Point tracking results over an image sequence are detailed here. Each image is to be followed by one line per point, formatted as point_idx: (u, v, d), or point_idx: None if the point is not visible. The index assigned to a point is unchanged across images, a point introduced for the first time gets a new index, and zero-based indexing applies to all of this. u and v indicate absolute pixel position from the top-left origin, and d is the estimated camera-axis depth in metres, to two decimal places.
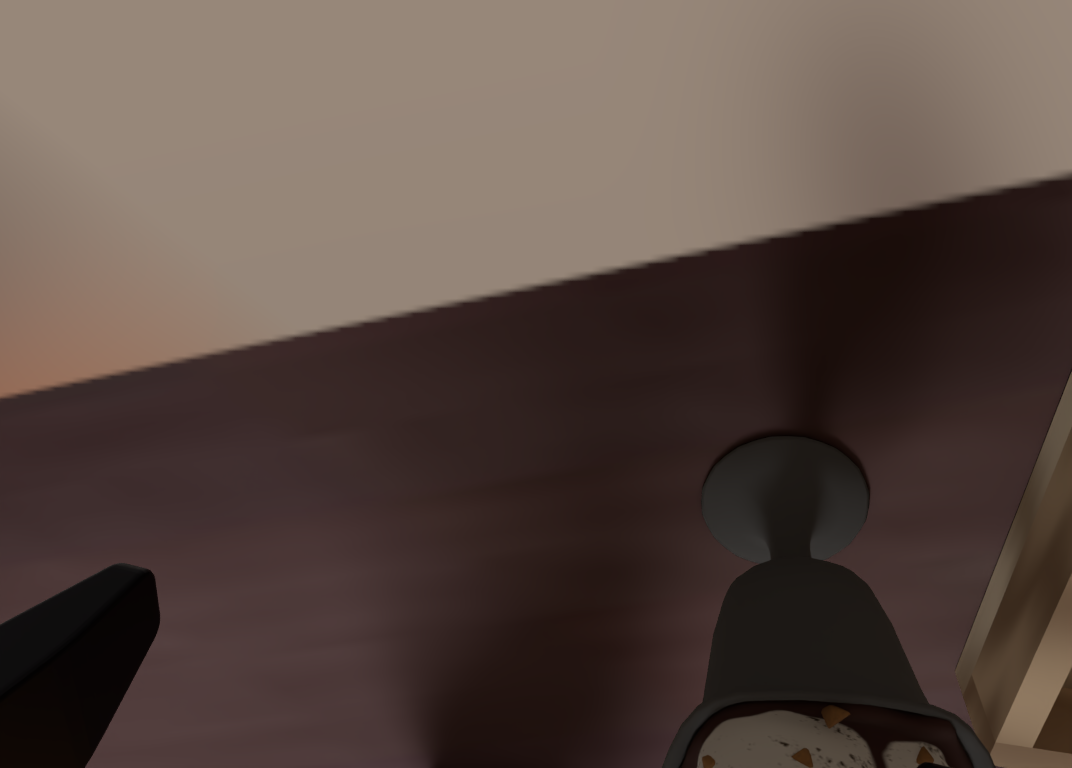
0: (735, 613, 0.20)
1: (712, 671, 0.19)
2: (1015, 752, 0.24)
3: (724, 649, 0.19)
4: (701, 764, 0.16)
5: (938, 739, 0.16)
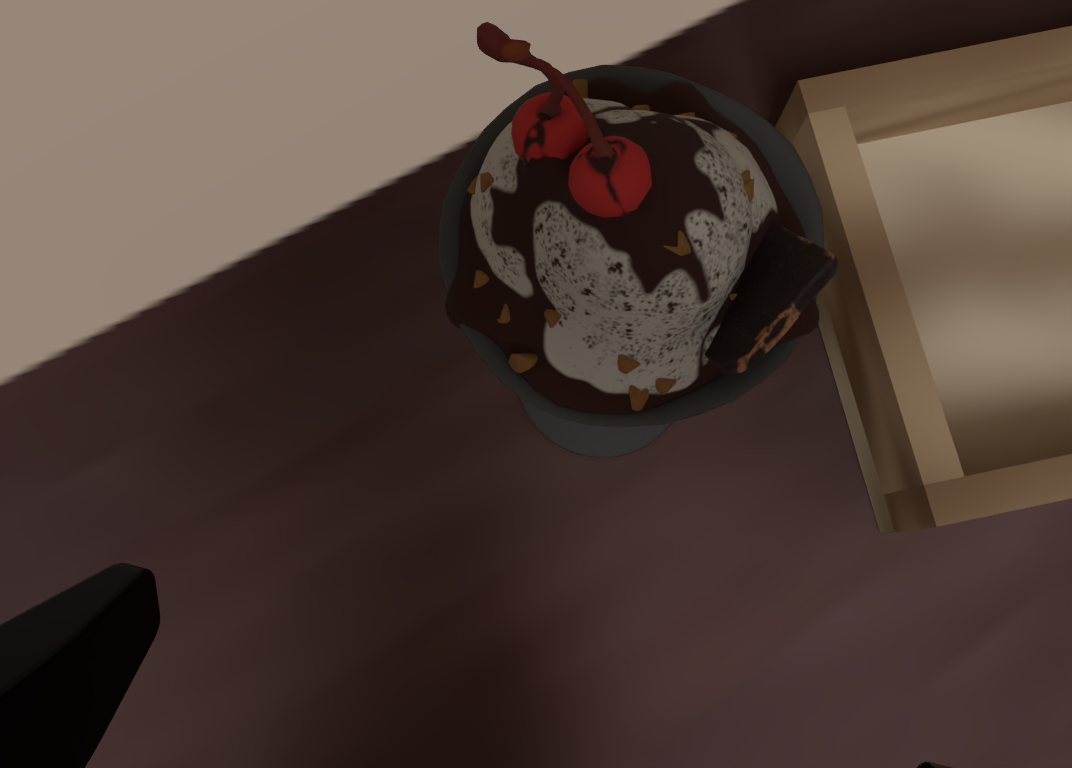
0: None
1: None
2: (953, 491, 0.20)
3: None
4: (471, 204, 0.14)
5: (690, 102, 0.15)
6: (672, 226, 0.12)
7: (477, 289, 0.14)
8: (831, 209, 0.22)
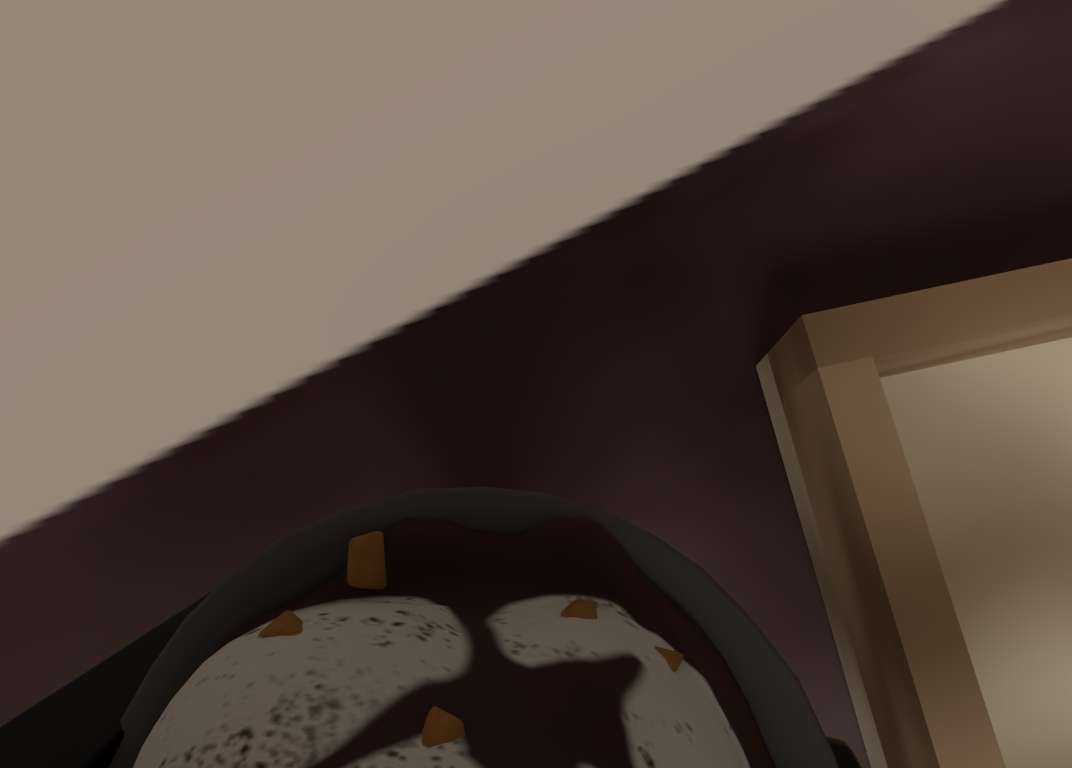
0: None
1: None
2: None
3: None
4: None
5: (591, 564, 0.08)
6: None
7: None
8: (855, 517, 0.14)
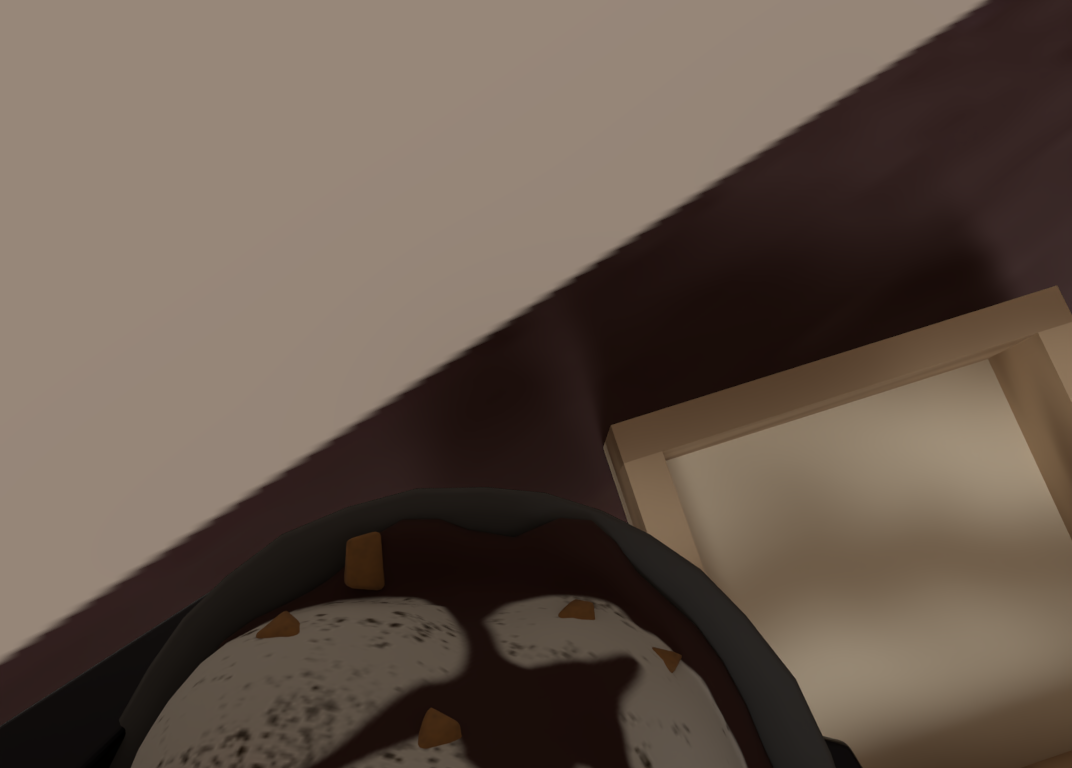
0: None
1: None
2: None
3: None
4: None
5: (588, 565, 0.08)
6: None
7: None
8: None
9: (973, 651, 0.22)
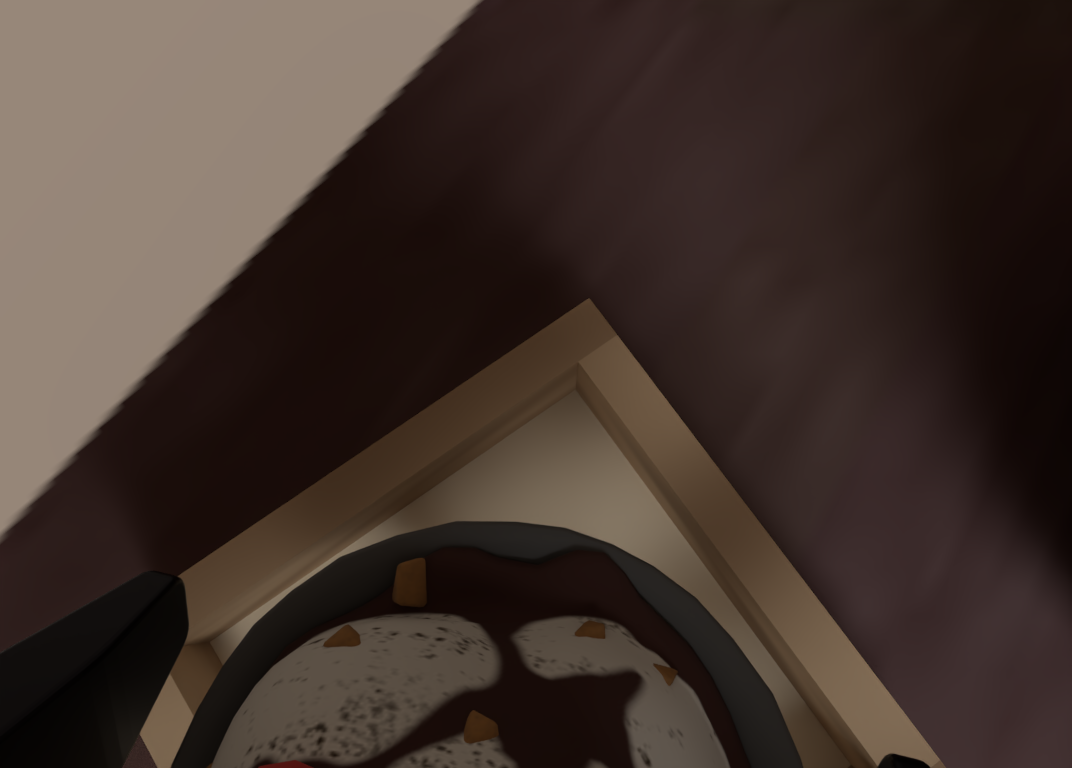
0: None
1: None
2: None
3: None
4: None
5: (601, 591, 0.09)
6: None
7: None
8: None
9: None
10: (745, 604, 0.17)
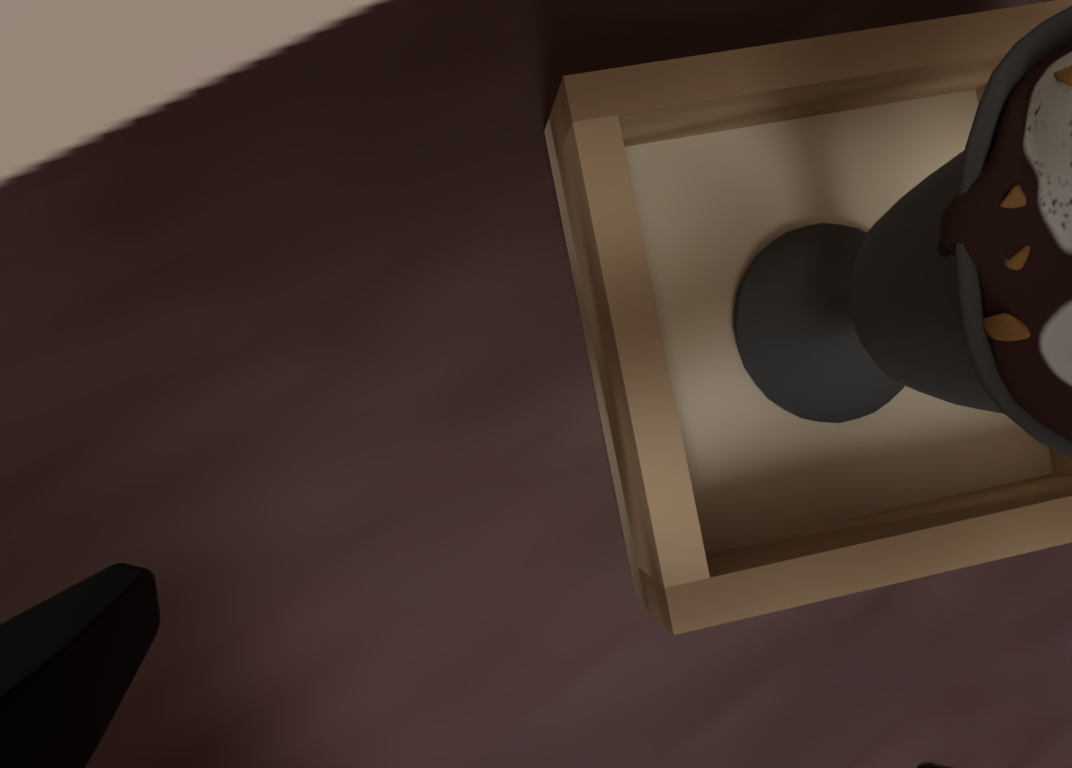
0: (918, 184, 0.14)
1: (931, 189, 0.13)
2: (695, 595, 0.17)
3: (937, 174, 0.13)
4: (1048, 95, 0.10)
5: None
6: None
7: (1005, 210, 0.10)
8: (593, 247, 0.18)
9: None
10: None
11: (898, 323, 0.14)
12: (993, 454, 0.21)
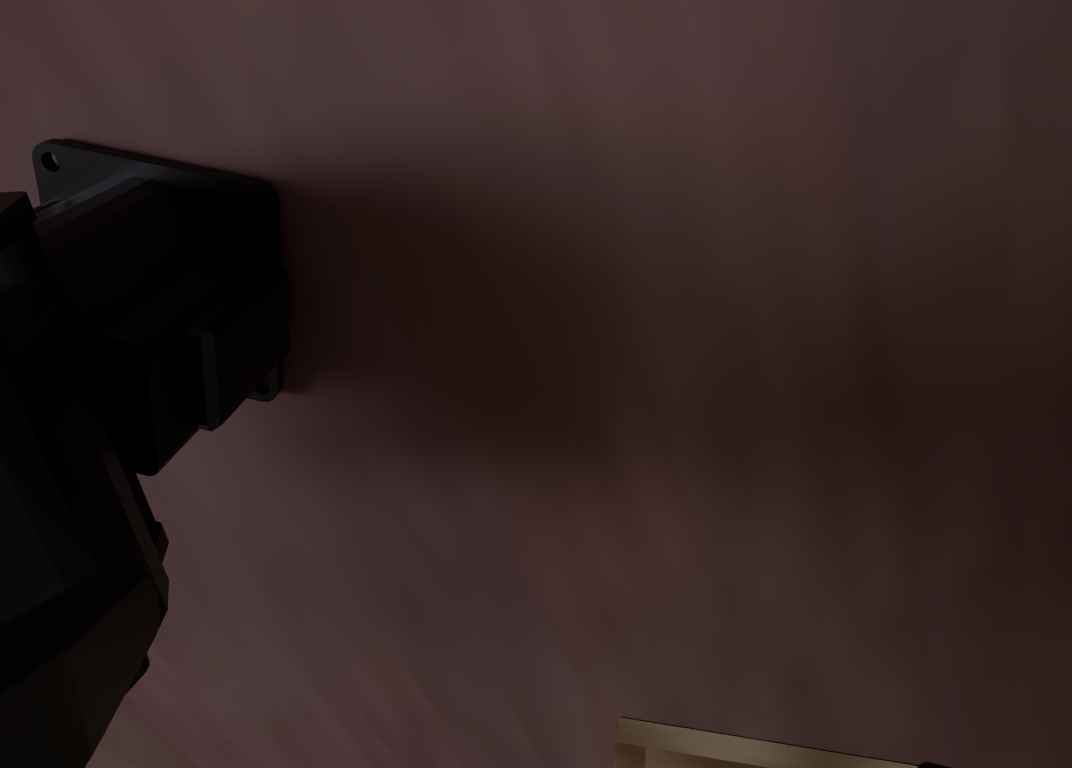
0: None
1: None
2: None
3: None
4: None
5: None
6: None
7: None
8: None
9: None
10: None
11: None
12: None
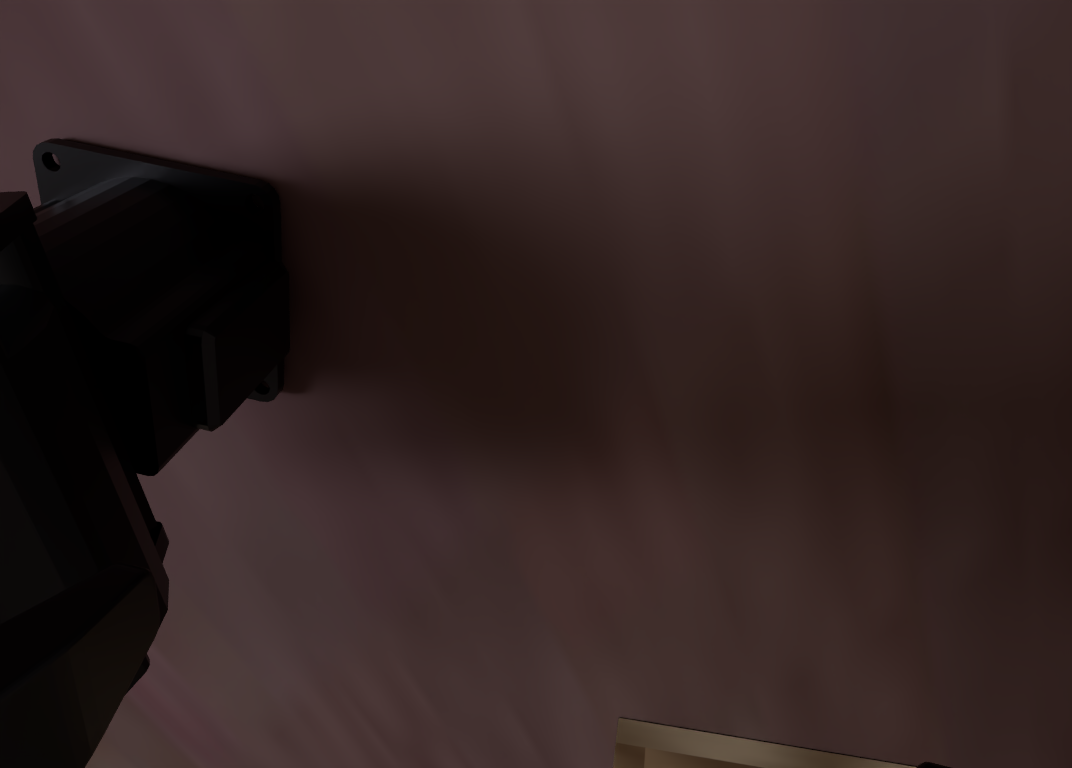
0: None
1: None
2: None
3: None
4: None
5: None
6: None
7: None
8: None
9: None
10: None
11: None
12: None
